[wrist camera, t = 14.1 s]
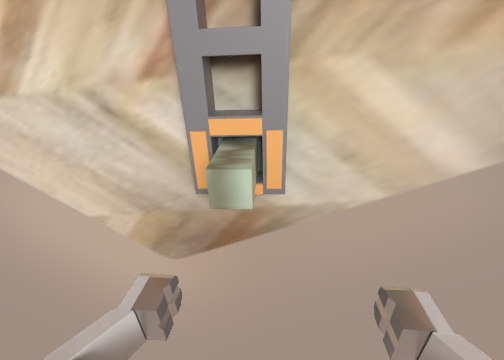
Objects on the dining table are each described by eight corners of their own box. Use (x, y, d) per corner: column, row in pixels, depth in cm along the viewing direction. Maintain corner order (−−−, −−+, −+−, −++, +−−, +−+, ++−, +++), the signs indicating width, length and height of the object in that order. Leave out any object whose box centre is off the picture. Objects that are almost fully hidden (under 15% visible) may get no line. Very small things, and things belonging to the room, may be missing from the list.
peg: (257, 135, 33) (251, 169, 23) (257, 164, 35) (252, 209, 25) (225, 135, 34) (205, 169, 23) (227, 164, 36) (210, 208, 25)
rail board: (290, -67, 24) (294, -92, 20) (283, 181, 36) (284, 195, 32) (170, -58, 25) (152, -80, 21) (203, 181, 37) (195, 194, 33)
